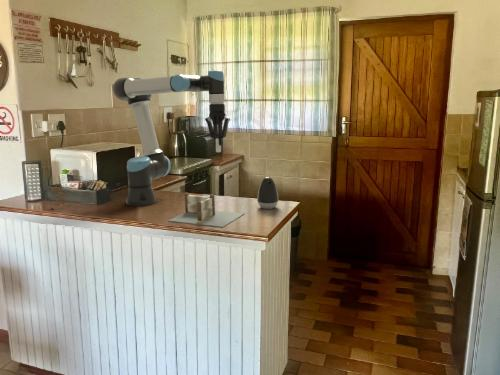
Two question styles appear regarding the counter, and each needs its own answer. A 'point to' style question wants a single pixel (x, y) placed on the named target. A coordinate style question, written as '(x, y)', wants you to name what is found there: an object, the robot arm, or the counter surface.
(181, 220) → the board
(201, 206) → the folding fence panel
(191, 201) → the fixed fence section
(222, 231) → the counter surface
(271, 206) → the egg-shaped speaker
